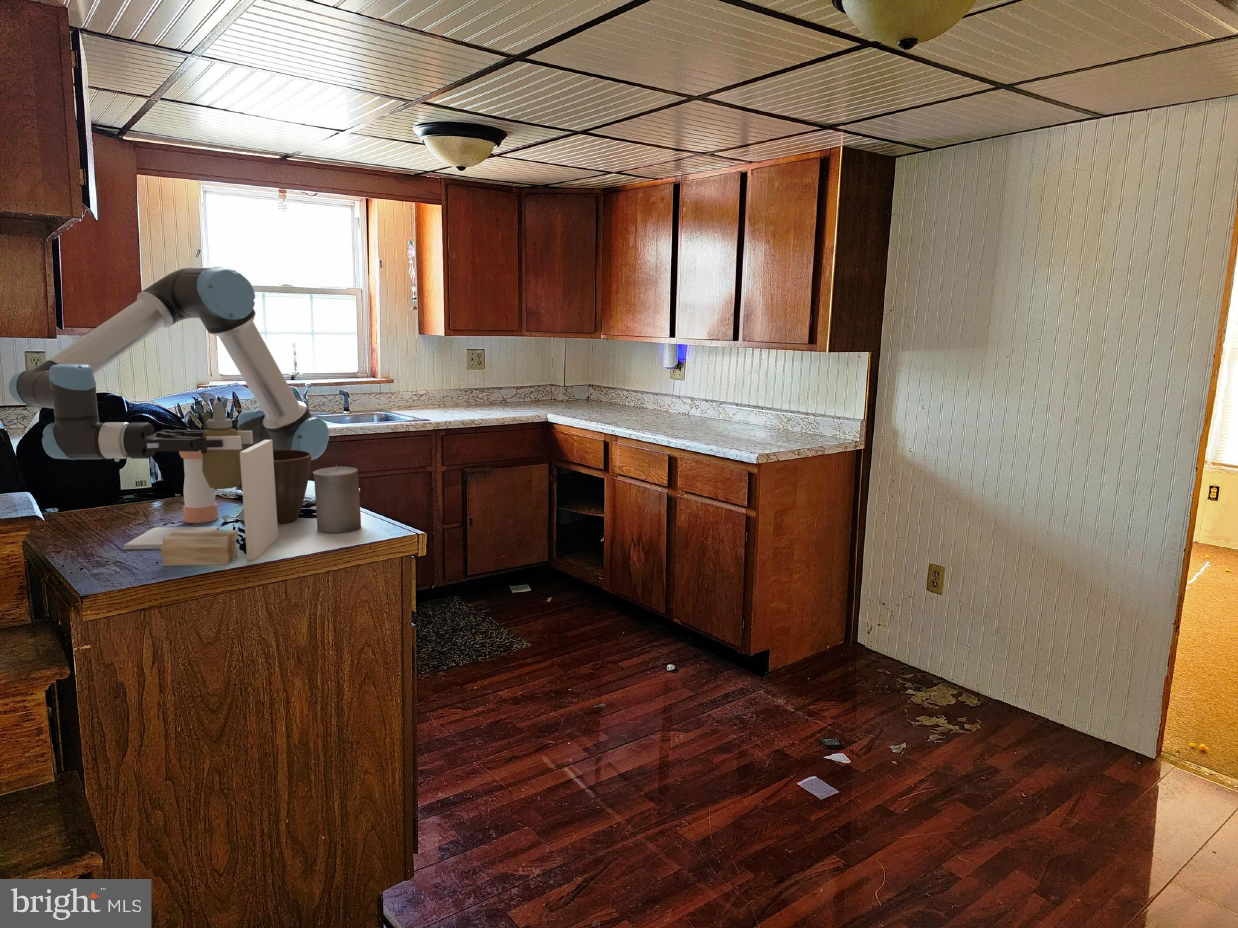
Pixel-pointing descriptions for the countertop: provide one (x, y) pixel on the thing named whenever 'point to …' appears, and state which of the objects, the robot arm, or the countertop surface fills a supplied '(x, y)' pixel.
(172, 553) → the offcut stack
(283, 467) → the plant pot
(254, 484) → the panel
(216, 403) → the squeeze bottle
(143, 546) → the grey mat
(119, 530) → the countertop surface
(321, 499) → the pillar candle
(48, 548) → the countertop surface
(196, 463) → the pepper shaker
